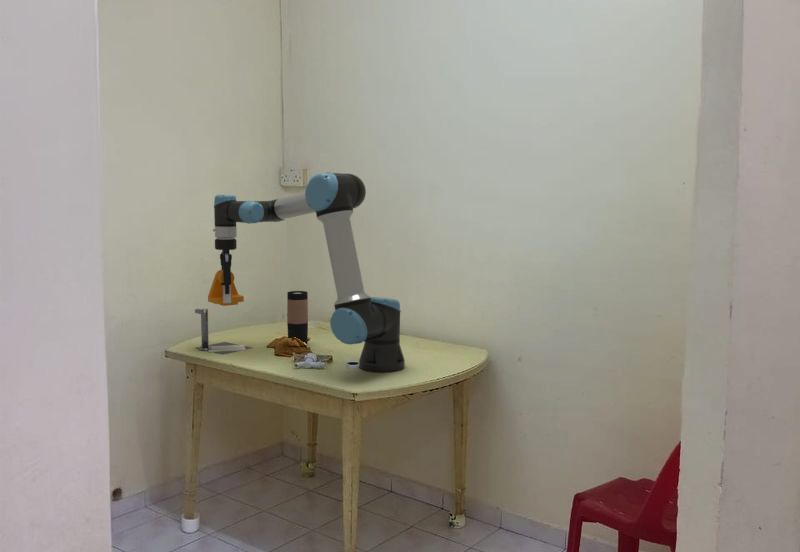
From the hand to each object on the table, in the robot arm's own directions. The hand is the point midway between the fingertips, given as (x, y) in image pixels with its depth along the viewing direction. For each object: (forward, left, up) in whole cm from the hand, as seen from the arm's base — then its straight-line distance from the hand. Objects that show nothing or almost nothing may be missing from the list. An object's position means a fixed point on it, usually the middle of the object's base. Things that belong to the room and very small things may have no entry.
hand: (226, 300), depth 257 cm
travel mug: (+3, -26, -18) cm, 32 cm away
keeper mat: (+1, +1, -18) cm, 18 cm away
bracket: (0, 0, -1) cm, 1 cm away
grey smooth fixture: (+1, +8, -18) cm, 19 cm away
